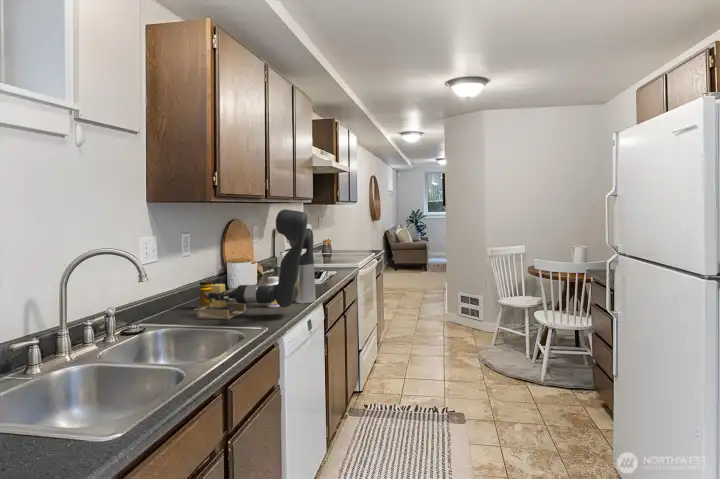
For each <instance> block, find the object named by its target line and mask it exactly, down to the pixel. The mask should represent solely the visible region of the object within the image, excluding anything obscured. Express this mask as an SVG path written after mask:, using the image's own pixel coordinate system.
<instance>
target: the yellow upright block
mask: <svg viewBox="0 0 720 479" xmlns="http://www.w3.org/2000/svg"><path fill="white" fill-rule="evenodd" d="M225 289H226V284H225V283H215V284H212V285H211V293H221V292H222V291H225ZM224 294H225V293H224ZM219 298H220V296H219ZM226 303H227V300H217V301H216V300H215V299H212V309H213V310H224V309H226Z"/></svg>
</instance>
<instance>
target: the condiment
mask: <svg viewBox="0 0 720 479" xmlns="http://www.w3.org/2000/svg"><path fill="white" fill-rule="evenodd" d="M211 285H213V281H212V280H204V281H200V282H199V302H200V304H199V306H198V307H196V308H195V309H194V311H197V309H200V308H203V307H206V306H208V305H211V304H212V299H209V298H208V293H211Z"/></svg>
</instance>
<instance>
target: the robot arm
mask: <svg viewBox="0 0 720 479" xmlns="http://www.w3.org/2000/svg"><path fill="white" fill-rule="evenodd" d="M307 227H308V215H307V213H306V212H305V211H299V210H293V209H286V208H285V209H281V210H280V211H279V212H278V213H277V215H276V218H275V229H276V231H277V233H279V234H281V235H283V236H284V237H285V239H286V240H287V241H288V244H289V246H290V249H289V250H288V251H287V252H286V253H285V254H284V256H283V257H282V259H281V260H280V261H281V262H280V266H279V267H280V268H279V280H278V282H279V283H278V284H276V285H272V286H266V285H257V284H239V285H238V286H236V287H233V288H227V289H226V288H225V291H222V292H221V293H208V298H209V299H215V300H216V301H217V300H226V302H227V301H234V300H235V302H236V303H240V304H245V305H247V304H248V305H252V304H253V305H256V304H267V303H272V302H274V301H275V300H276V301H277V303H278V305H279V306H280V307H282V308H289V307H290V306H292V304H293V303H294V301H295V303H296V304H311V303H315V302H316V280H315V262H314V232H313V229H311V228H307ZM303 250H305V252H304V253H303V254H302V252H303ZM224 293H225V294H224ZM219 296H220V298H219Z"/></svg>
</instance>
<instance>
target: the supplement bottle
mask: <svg viewBox="0 0 720 479" xmlns="http://www.w3.org/2000/svg"><path fill="white" fill-rule="evenodd" d="M279 279H280V277H279V276H268V277H267V281H268V283H266V284H265V286H272V285H276V284H278V283H279ZM266 306H267V307H268V308H270V309H271V308H279V307H281V306H279V305H278V303H277V301H276V300H275V301H274V302H272V303H266Z"/></svg>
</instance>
